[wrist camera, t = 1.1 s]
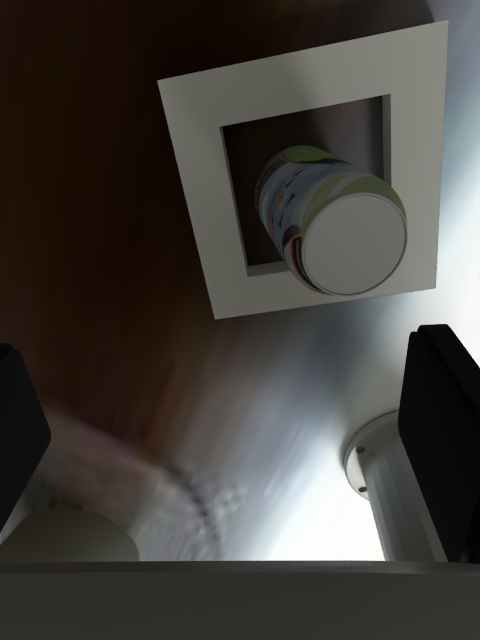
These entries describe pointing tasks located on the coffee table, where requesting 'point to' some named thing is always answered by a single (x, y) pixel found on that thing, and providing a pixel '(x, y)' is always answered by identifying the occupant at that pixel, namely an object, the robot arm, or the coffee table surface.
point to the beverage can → (331, 221)
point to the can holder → (297, 95)
